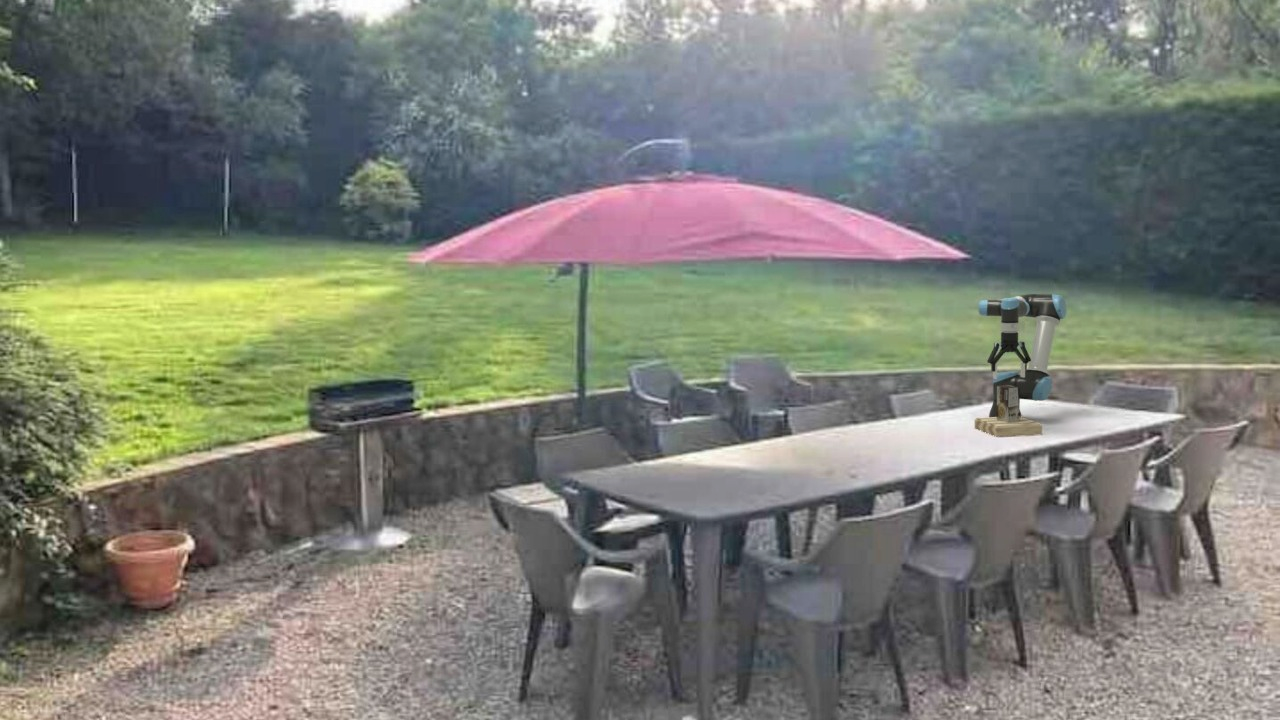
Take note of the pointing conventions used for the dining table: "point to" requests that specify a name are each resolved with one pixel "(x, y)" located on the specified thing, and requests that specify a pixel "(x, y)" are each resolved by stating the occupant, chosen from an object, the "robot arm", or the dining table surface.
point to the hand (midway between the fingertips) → (1008, 377)
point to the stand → (1008, 427)
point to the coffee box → (1008, 403)
